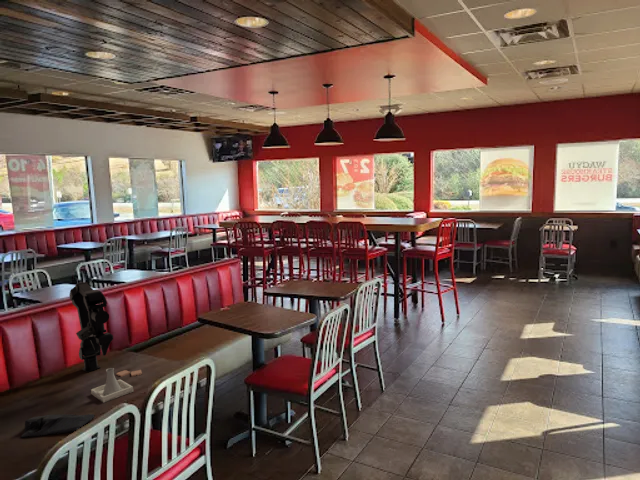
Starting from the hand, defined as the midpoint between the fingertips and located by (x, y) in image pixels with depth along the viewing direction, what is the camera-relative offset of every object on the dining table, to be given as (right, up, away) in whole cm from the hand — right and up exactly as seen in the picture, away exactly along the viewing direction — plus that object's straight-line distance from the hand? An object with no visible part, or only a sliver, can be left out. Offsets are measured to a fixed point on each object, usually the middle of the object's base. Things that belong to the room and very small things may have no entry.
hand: (100, 353), depth 213 cm
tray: (+11, -14, -12) cm, 22 cm away
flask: (+11, -14, -13) cm, 22 cm away
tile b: (+13, -12, +7) cm, 19 cm away
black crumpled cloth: (+3, -18, -38) cm, 42 cm away
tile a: (+7, -12, +8) cm, 16 cm away
